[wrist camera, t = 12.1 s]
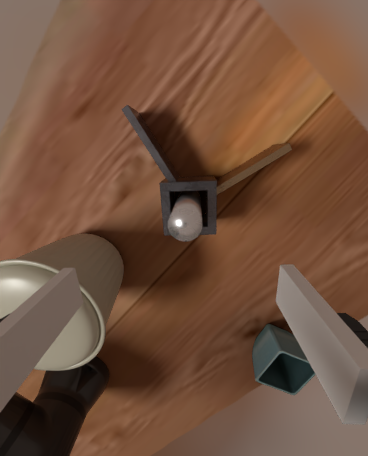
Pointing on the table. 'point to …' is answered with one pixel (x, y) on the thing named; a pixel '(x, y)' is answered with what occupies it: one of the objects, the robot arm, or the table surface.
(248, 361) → the table surface
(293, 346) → the flower pot
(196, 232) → the hinge pin
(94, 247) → the canister
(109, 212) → the table surface
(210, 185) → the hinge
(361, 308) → the table surface
